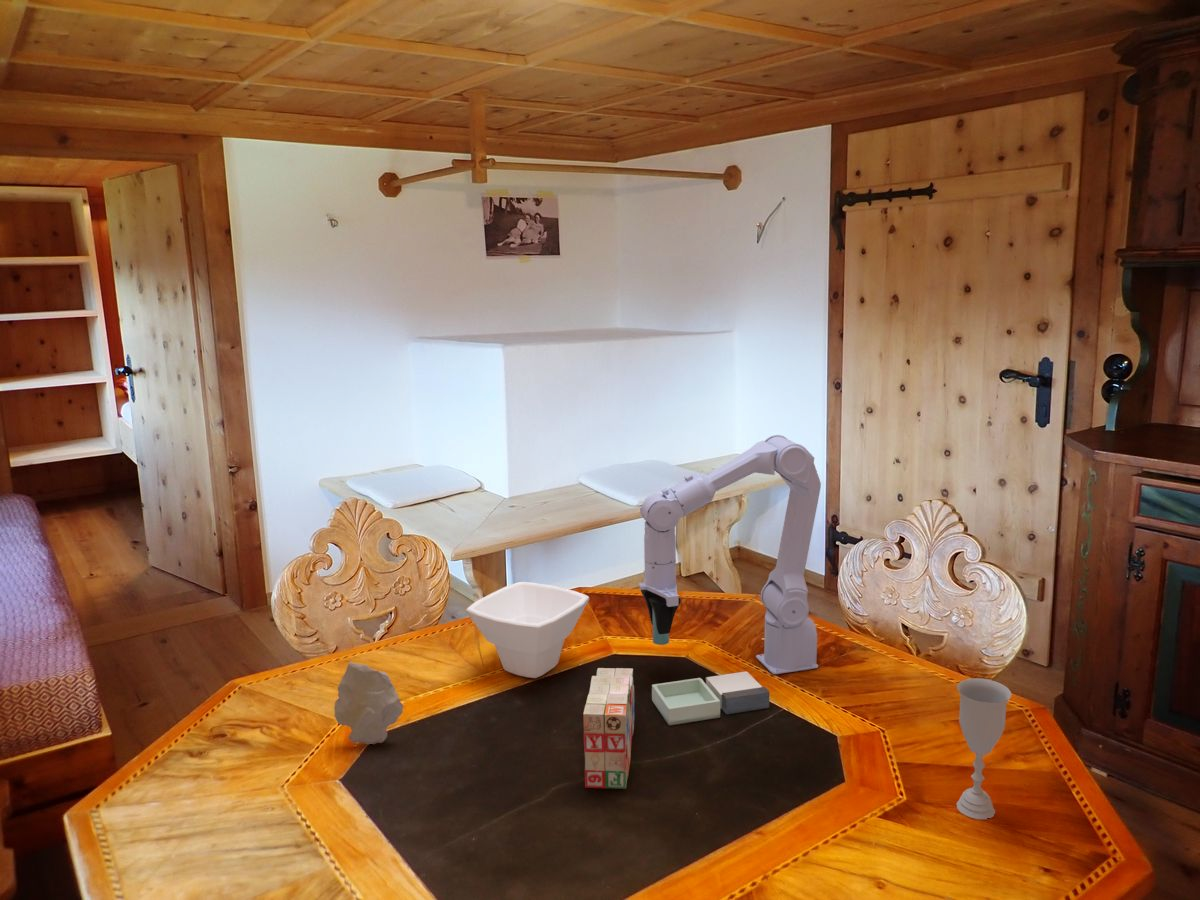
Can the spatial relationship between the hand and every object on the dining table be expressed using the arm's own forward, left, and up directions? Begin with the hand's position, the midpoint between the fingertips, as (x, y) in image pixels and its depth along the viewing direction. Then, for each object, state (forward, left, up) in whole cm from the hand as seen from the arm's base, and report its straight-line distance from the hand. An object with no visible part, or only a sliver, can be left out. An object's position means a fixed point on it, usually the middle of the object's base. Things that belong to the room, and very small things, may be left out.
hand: (660, 629), depth 165 cm
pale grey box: (-10, +11, -10) cm, 18 cm away
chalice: (-29, +52, -10) cm, 60 cm away
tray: (0, +13, -9) cm, 16 cm away
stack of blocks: (+16, +22, -10) cm, 29 cm away
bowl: (+23, -10, -10) cm, 27 cm away
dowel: (0, 0, -2) cm, 2 cm away
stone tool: (+53, +9, -10) cm, 55 cm away
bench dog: (-10, +16, -9) cm, 21 cm away
